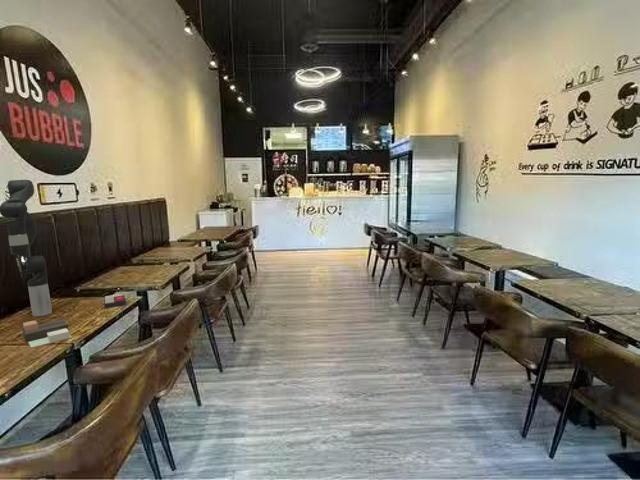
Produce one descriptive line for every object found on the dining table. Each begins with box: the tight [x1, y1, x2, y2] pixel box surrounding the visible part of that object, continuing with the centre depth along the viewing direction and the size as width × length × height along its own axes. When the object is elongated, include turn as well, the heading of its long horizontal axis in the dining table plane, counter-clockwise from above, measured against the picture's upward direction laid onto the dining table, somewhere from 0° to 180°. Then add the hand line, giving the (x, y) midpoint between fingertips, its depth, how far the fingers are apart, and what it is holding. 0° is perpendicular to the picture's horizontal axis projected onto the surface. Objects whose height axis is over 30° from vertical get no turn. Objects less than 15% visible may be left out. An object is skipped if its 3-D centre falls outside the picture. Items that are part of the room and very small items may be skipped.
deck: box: [21, 318, 70, 343], centre depth 197 cm, size 12×17×4 cm
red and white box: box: [103, 293, 126, 309], centre depth 243 cm, size 11×4×15 cm
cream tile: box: [47, 328, 71, 343], centre depth 190 cm, size 6×8×3 cm
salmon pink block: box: [22, 320, 39, 332], centre depth 193 cm, size 6×5×3 cm
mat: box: [27, 334, 73, 349], centre depth 189 cm, size 9×16×1 cm, turn 132°
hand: (24, 278), depth 199 cm, fingers closed
